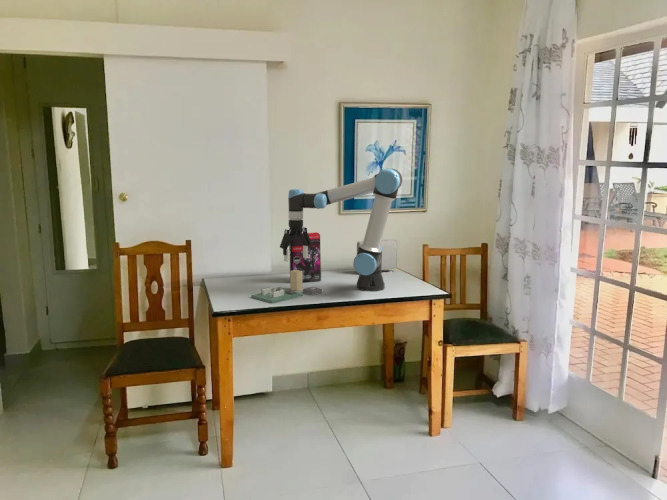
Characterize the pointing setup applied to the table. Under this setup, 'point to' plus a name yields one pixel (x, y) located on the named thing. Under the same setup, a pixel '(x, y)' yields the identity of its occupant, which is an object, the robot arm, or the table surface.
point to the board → (276, 295)
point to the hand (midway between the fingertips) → (295, 259)
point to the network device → (387, 254)
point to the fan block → (312, 290)
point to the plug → (296, 280)
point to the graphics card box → (306, 265)
